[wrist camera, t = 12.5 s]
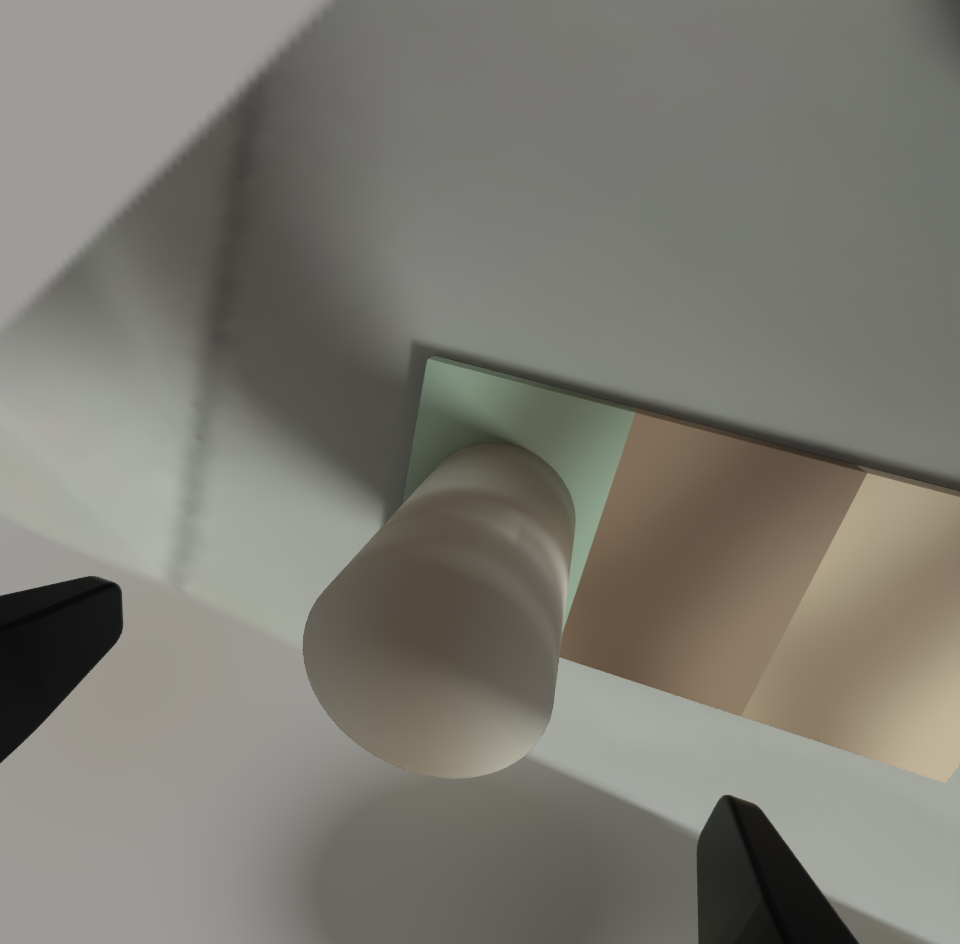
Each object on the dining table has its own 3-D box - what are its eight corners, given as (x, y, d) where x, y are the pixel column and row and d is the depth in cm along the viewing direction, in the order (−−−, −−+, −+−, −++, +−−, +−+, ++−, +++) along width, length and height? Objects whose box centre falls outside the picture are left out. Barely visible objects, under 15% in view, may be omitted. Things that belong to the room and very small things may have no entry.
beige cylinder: (595, 468, 13) (587, 611, 7) (552, 605, 14) (517, 811, 9) (436, 424, 13) (315, 526, 8) (410, 561, 15) (293, 728, 9)
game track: (1102, 528, 11) (1127, 540, 11) (932, 763, 14) (945, 783, 13) (434, 355, 13) (427, 358, 13) (392, 588, 16) (384, 600, 15)
